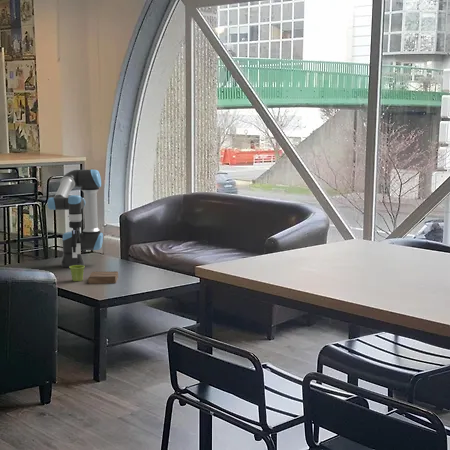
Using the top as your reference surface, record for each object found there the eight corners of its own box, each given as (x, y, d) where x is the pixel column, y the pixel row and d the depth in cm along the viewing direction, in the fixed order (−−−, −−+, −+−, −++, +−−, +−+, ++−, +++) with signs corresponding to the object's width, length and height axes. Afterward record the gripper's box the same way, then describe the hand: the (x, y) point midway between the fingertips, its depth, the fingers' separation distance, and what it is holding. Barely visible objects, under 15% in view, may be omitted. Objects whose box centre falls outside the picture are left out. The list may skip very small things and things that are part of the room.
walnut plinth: (92, 278, 436) (92, 271, 435) (118, 277, 436) (118, 271, 436) (88, 283, 420) (88, 277, 419) (115, 283, 420) (115, 276, 420)
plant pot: (88, 279, 431) (88, 265, 430) (78, 282, 423) (77, 268, 422) (77, 278, 436) (76, 264, 434) (66, 281, 428) (65, 267, 426)
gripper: (72, 218, 436) (73, 252, 439) (65, 223, 412) (66, 259, 414) (84, 218, 437) (85, 252, 439) (78, 223, 412) (79, 259, 415)
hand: (76, 255), depth 427 cm, fingers open, 13 cm apart
